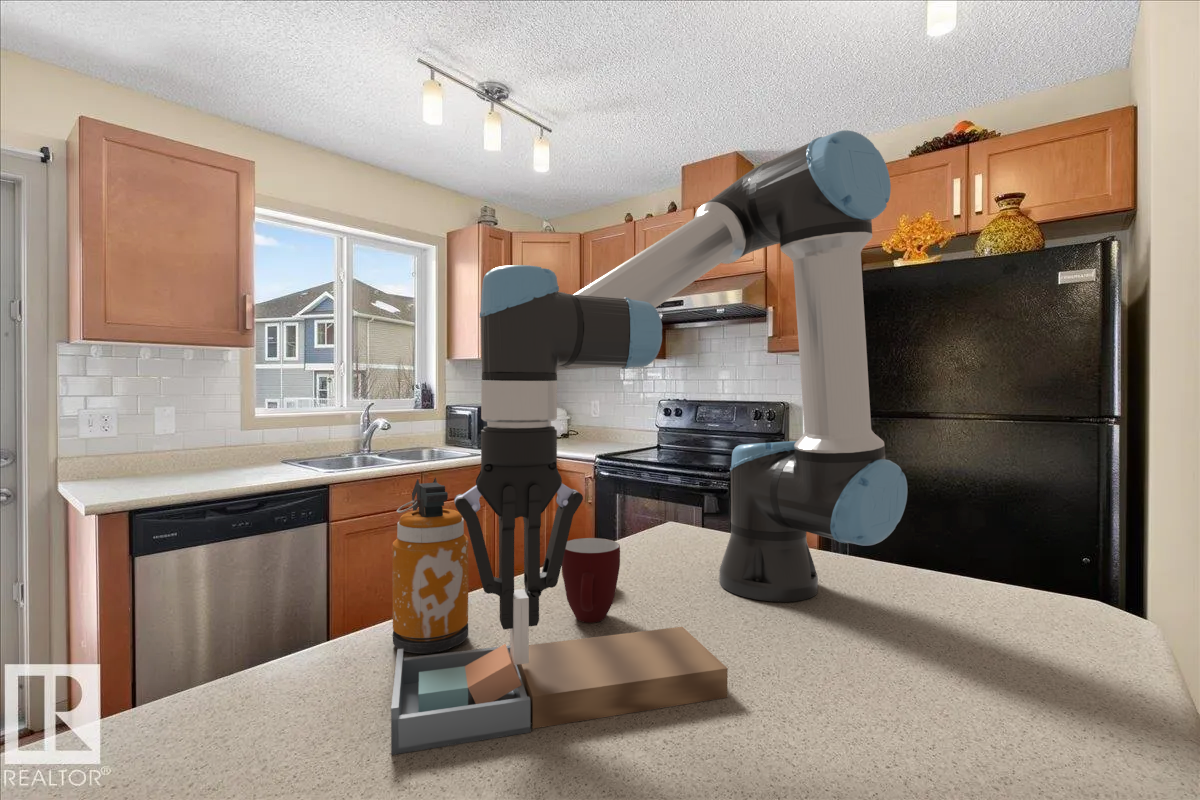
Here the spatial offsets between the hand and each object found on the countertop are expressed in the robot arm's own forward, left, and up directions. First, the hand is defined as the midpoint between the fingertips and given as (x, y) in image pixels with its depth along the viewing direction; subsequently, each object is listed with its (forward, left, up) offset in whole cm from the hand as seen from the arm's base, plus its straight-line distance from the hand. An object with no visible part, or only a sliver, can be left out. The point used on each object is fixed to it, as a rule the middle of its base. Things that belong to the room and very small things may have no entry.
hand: (519, 657), depth 60 cm
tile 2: (+2, 0, -3) cm, 3 cm away
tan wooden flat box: (-10, 0, -4) cm, 11 cm away
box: (+6, 0, -4) cm, 7 cm away
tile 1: (+7, 0, -1) cm, 7 cm away
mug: (-12, -18, -4) cm, 22 cm away
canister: (+9, -18, -5) cm, 20 cm away
